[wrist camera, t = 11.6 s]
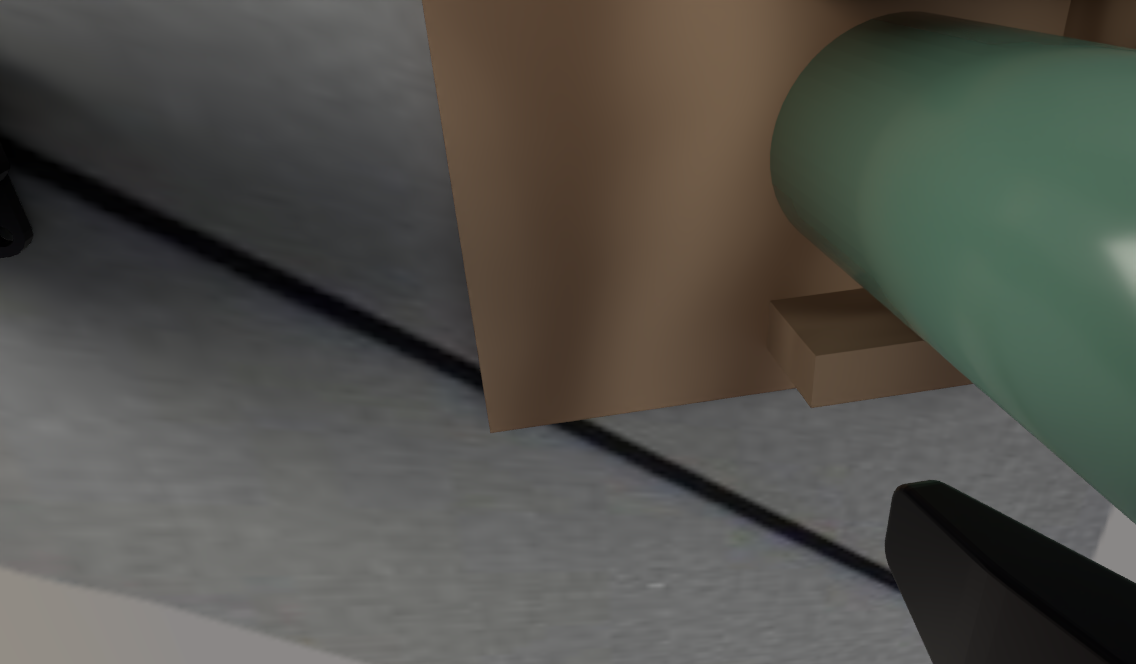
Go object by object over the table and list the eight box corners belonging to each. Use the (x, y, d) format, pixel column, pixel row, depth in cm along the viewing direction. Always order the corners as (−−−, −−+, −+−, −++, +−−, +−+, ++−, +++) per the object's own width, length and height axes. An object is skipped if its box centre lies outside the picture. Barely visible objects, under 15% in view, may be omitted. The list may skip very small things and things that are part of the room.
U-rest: (488, 416, 22) (496, 504, 19) (400, -148, 16) (387, -165, 12) (1051, 335, 24) (1149, 403, 21) (1194, -214, 17) (1376, -246, 14)
